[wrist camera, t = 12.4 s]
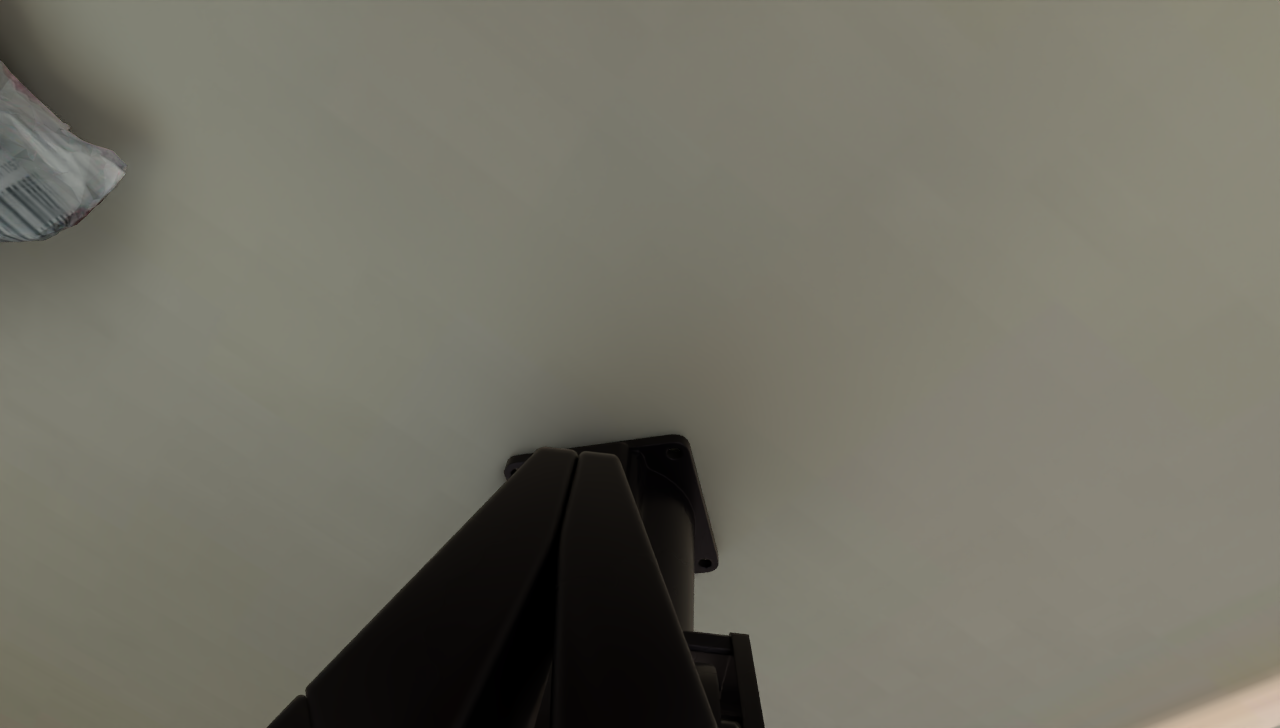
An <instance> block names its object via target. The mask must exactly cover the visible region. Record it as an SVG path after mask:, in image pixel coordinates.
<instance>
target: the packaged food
mask: <svg viewBox="0 0 1280 728" xmlns="http://www.w3.org/2000/svg"><path fill="white" fill-rule="evenodd" d="M68 129H70V126H69V125H68V124H66V123H64V122H62V121H61V120H60V119H59V118H58V117H57V116H56V115H55V114H54V113H53V112H52V111H50V110H49V109H48V108H47V107H46V106H45V105H44V104H43V103H42V102H41V101H39V100H38V99H37V98H36V97H35V96H34V95H33V94H32V93H31V92H30V91H29V90H28V89H27V88H26V87H25V86H24V85H23V84H22V83H21V82H20V81H19V80H18V79H17V78H16V77H15V76H14V75H13V74H12V73H11V72H10V71H9V69H8V68H7V67H6V66H5V64H4V63H3V62H2V61H1V60H0V242H21V241H39V240H46V239H48V238H50V237H52V236H54V235H56V234H57V233H59V232H60V231H62V230H64V229H66V228H69V227H72V226H74V225H77V224H78V223H79V222H80V221H81V220H82V219H84V218H85V217H86V216H87V215H88V214H89V213H90V212H91V210H92V209H93V208H94V207H95V206H97V205H99V204H100V203H101V202H102V201H103V199H104V198H105V197H106V196H107V195H108V194H109V193H110V192H111V191H112V190H113V189H114V188H116V186H117V185H118V184H119V182H120V181H121V180H122V178H123V177H124V176H125V174H126V168H127V165H126V164H125V163H124V162H123V161H122V160H121V159H120V158H119V157H118V155H117V154H116V153H115V152H114V151H113V150H110V149H107V148H103V147H100V146H96V145H93V144H91V143H88V142H85V141H83V140H81V139H80V138H78V137H77V136H75V135H74V134H73V133H71V132H70V131H68Z"/></svg>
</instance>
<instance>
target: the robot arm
mask: <svg viewBox="0 0 1280 728" xmlns="http://www.w3.org/2000/svg"><path fill="white" fill-rule="evenodd" d="M671 448H678V449H680V450H679V451H677V452H676V451H671V450H669V449H671ZM516 469H518V470H516ZM504 474H505V477H506V479H507V481H506V482H505V483H504V484H503V485H502V486H501V487H500V488H499V489H498V490H497V492H496V493H495V494H494V495H493V496H492V497H491V498H490V499H489V500H488V501H487V502H486V503H485V504H484V505H483V506H482V507H481V508H480V509H479V510H478V511H477V512H476V513H475V514H474V515H473V516H472V517H471V518H470V519H469V520H468V521H467V522H466V523H465V524H464V525H463V526H462V528H461V529H460V530H459V531H458V532H457V533H456V534H455V535H454V536H453V537H452V538H451V539H450V540H449V541H448V542H447V543H446V544H445V545H444V546H443V547H442V548H441V549H440V550H439V551H438V552H437V553H436V554H435V555H434V556H433V557H432V558H431V559H430V560H429V561H428V563H427V564H426V565H425V566H424V567H423V568H422V569H421V570H420V571H419V572H418V573H417V574H416V575H415V576H414V577H413V578H412V579H411V580H410V581H409V582H408V583H407V584H406V585H405V586H404V587H403V588H402V589H401V590H400V591H399V592H398V593H397V594H396V595H395V596H394V597H393V599H392V600H391V601H390V602H389V603H388V604H387V605H386V606H385V607H384V608H383V609H382V610H381V611H380V612H379V613H378V614H377V615H376V616H375V617H374V618H373V619H372V620H371V621H370V622H369V623H368V624H367V625H366V626H365V627H364V628H363V629H362V630H361V631H360V632H359V633H358V635H357V636H356V637H355V638H354V639H353V640H352V641H351V642H350V643H349V644H348V645H347V646H346V647H345V648H344V649H343V650H342V651H341V652H340V653H339V654H338V655H337V656H336V657H335V658H334V659H333V660H332V661H331V662H330V663H329V664H328V665H327V666H326V667H325V668H324V670H323V671H322V672H321V673H320V674H319V675H318V676H317V677H316V678H315V679H314V680H313V681H312V682H311V683H310V684H309V685H308V686H307V687H306V690H305V691H306V696H304V695H298V696H297V697H296V698H295V699H294V700H293V701H292V702H291V703H290V704H289V705H288V706H287V707H286V708H285V709H284V710H283V711H282V712H281V713H280V714H279V715H278V716H277V717H276V718H275V719H274V720H273V722H272V723H271V724H270V725H269V726H268V727H267V728H765V727H764V721H763V715H762V709H761V703H760V697H759V691H758V686H757V680H756V674H755V668H754V662H753V656H752V650H751V645H750V639H749V635H748V634H739V633H730V634H729V636H728V635H719V634H711V633H702V632H693V625H694V573H705V572H711V571H713V570H715V569H716V568H717V567H718V551H717V547H716V543H715V539H714V536H713V532H712V528H711V524H710V520H709V516H708V512H707V509H706V505H705V501H704V497H703V493H702V489H701V486H700V482H699V478H698V474H697V470H696V466H695V462H694V459H693V455H692V451H691V447H690V444H689V442H688V440H687V439H686V438H685V437H683V436H680V435H664V436H657V437H650V438H642V439H635V440H627V441H620V442H612V443H605V444H598V445H590V446H583V447H575V448H568V449H561V448H552V447H541V448H539V449H538V450H536V451H535V452H534V453H531V454H523V455H516V456H513V457H511V458H510V459H508V461H507V464H506V467H505V470H504ZM705 559H707V560H705Z"/></svg>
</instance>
